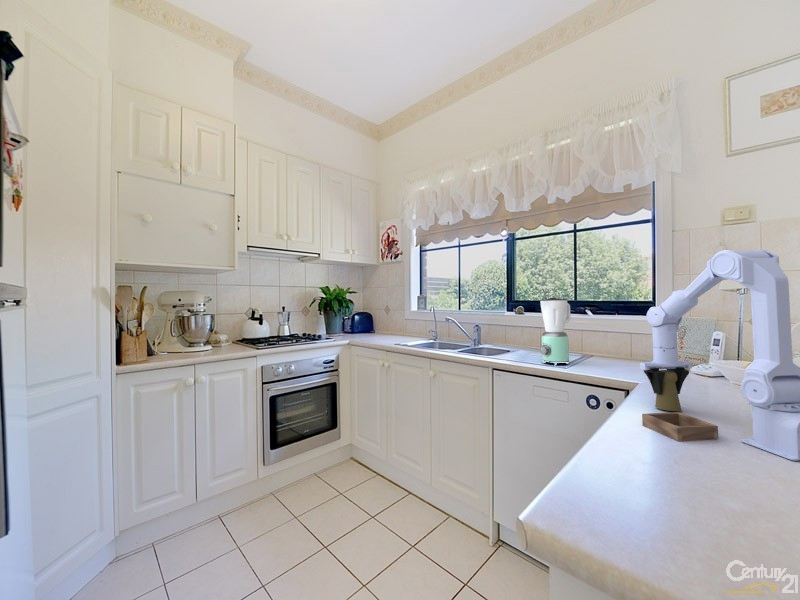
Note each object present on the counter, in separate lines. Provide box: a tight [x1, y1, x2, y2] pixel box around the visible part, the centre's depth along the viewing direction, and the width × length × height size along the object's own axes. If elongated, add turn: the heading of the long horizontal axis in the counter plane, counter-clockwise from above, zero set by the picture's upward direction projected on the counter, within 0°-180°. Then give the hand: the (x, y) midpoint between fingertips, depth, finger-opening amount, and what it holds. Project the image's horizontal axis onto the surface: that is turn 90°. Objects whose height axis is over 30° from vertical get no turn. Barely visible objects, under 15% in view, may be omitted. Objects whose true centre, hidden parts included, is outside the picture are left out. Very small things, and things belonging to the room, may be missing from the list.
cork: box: [655, 369, 682, 412], centre depth 97 cm, size 6×6×11 cm
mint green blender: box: [539, 297, 571, 363], centre depth 175 cm, size 19×13×35 cm
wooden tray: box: [641, 411, 719, 442], centre depth 80 cm, size 10×10×3 cm
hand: (666, 393), depth 97 cm, fingers closed on cork, 5 cm apart
